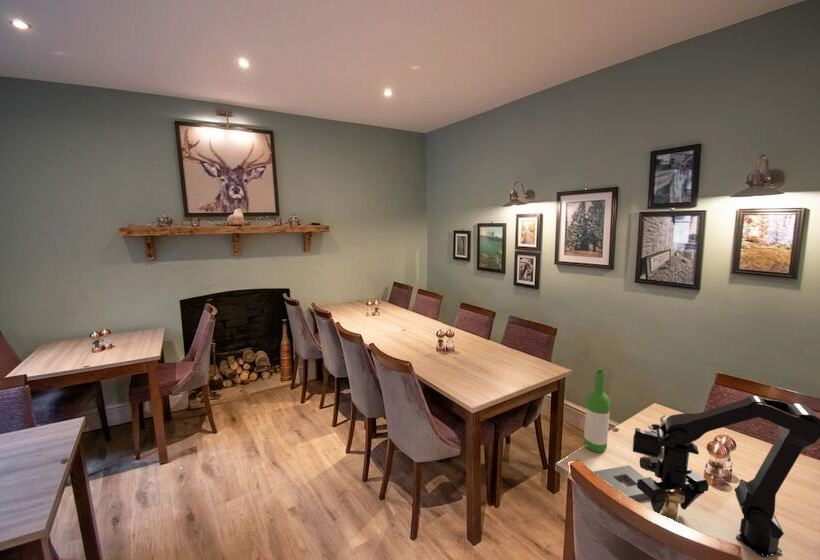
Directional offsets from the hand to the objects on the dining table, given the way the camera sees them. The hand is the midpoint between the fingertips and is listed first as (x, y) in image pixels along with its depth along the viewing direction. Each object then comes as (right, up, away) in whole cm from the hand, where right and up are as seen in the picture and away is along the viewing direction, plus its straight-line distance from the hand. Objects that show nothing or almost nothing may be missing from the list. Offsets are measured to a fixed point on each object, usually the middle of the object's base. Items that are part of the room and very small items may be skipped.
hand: (669, 511), depth 105 cm
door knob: (0, -2, 0) cm, 2 cm away
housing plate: (-6, 0, +12) cm, 13 cm away
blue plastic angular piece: (+18, +3, +29) cm, 35 cm away
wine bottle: (-5, +3, +33) cm, 33 cm away
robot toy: (+30, +5, +41) cm, 51 cm away
